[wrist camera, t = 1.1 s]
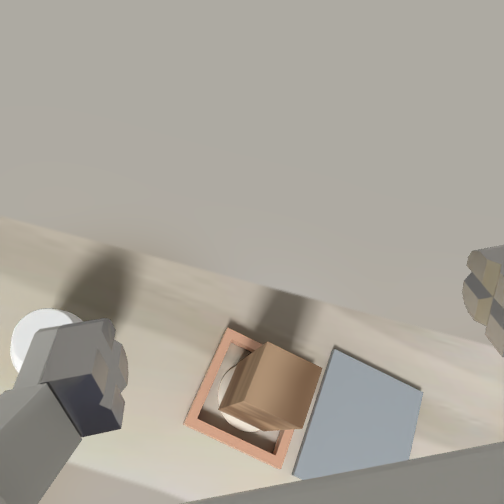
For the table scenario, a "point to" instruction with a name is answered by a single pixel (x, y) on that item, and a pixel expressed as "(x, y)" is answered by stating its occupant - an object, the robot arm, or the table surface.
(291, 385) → the walnut block
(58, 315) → the supplement bottle
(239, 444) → the terracotta frame
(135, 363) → the table surface
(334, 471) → the rubber mat
